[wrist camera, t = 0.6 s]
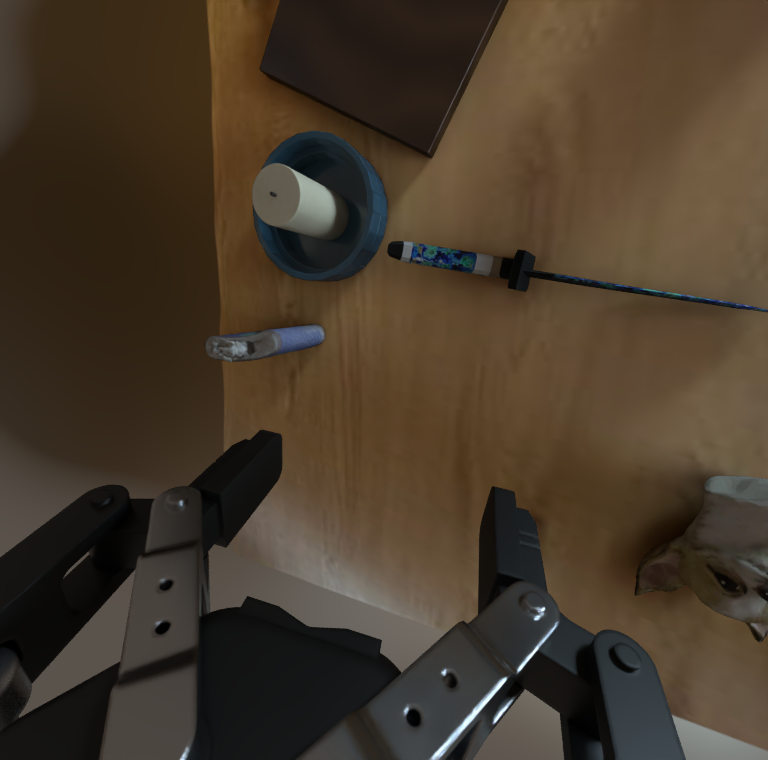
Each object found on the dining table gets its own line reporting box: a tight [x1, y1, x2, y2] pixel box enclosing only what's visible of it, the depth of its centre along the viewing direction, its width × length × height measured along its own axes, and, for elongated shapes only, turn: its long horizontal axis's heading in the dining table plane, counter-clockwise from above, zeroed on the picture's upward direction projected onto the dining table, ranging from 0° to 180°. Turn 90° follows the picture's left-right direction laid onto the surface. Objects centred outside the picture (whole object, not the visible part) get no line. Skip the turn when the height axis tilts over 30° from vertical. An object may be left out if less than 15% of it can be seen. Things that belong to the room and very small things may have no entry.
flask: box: [204, 324, 325, 362], centre depth 39 cm, size 9×3×11 cm, turn 97°
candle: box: [252, 163, 349, 240], centre depth 35 cm, size 5×5×10 cm
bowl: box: [253, 131, 387, 282], centre depth 38 cm, size 13×13×4 cm
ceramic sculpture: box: [635, 476, 768, 643], centre depth 29 cm, size 11×9×15 cm
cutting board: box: [260, 0, 508, 158], centre depth 34 cm, size 13×20×2 cm, turn 61°
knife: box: [387, 241, 768, 312], centre depth 32 cm, size 31×3×4 cm, turn 76°
